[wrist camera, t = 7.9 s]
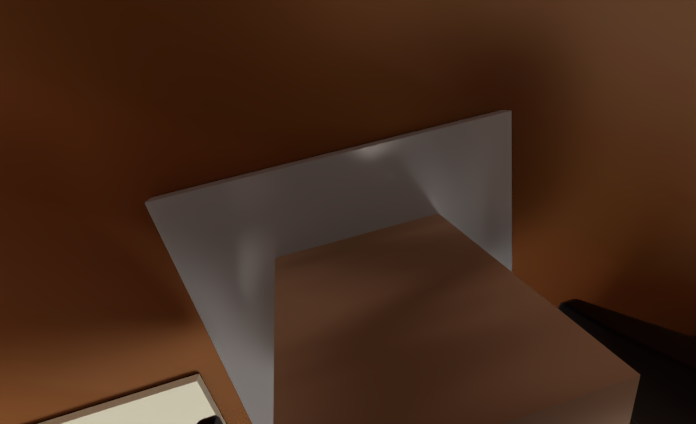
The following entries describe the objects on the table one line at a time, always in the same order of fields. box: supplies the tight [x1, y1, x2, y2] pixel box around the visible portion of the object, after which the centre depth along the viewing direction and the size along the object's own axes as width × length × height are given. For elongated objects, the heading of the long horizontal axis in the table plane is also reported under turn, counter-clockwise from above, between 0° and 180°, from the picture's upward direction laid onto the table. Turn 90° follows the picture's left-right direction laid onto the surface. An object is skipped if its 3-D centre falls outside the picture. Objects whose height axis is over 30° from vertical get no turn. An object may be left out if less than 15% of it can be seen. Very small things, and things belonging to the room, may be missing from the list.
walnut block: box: [273, 213, 640, 424], centre depth 8 cm, size 5×5×6 cm
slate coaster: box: [145, 110, 512, 424], centre depth 11 cm, size 10×10×1 cm
